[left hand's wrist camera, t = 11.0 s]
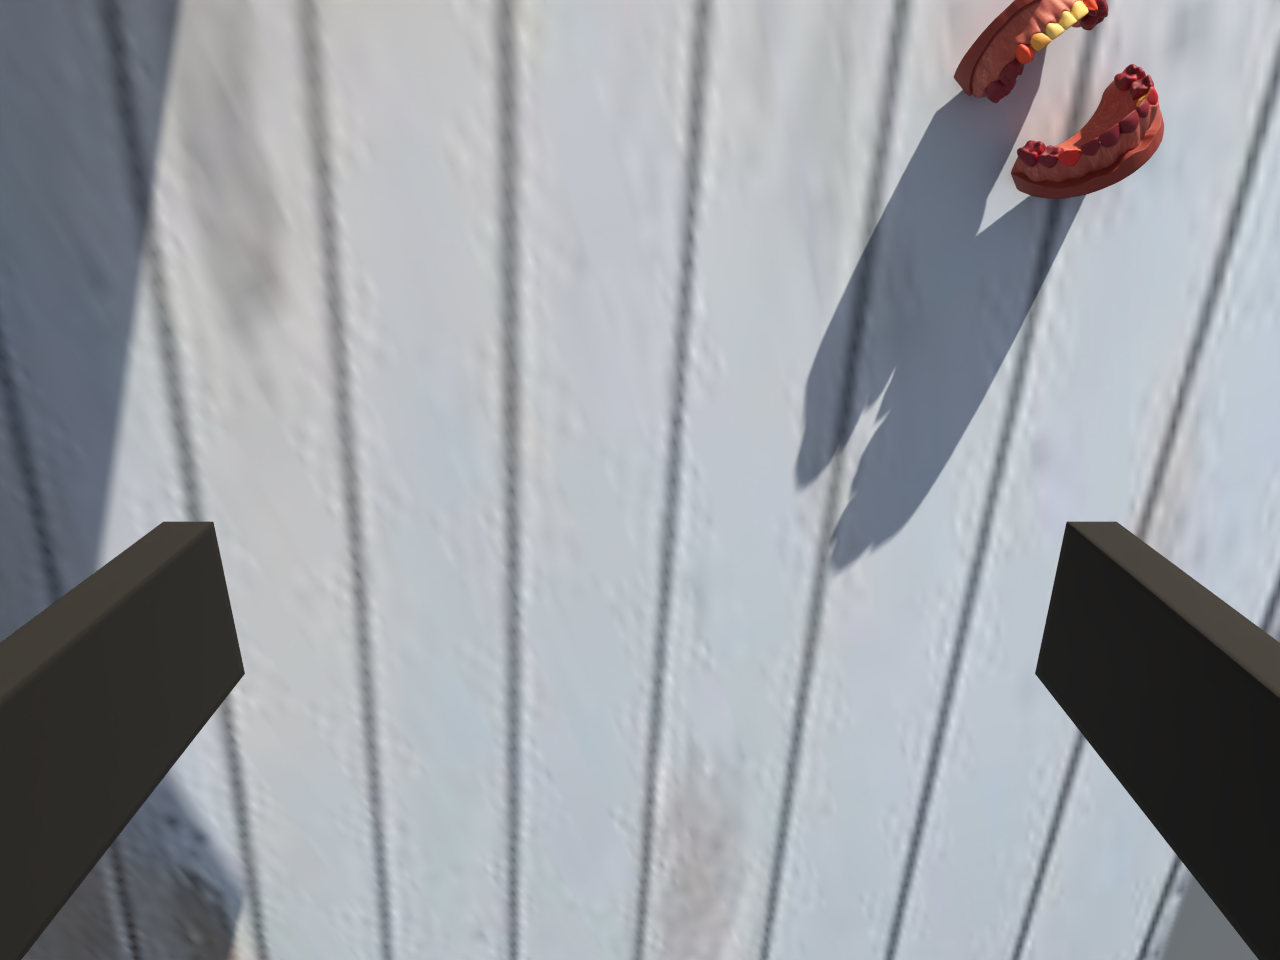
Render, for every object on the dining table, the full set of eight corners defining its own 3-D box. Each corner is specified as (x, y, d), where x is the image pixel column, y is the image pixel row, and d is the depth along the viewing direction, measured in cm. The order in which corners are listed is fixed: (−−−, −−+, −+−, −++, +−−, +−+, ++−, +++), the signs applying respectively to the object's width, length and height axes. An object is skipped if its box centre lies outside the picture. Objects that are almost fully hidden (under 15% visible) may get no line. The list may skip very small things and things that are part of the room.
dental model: (1117, -78, 27) (1213, 125, 30) (1060, -51, 31) (1149, 126, 34) (970, 38, 29) (1072, 222, 31) (933, 49, 33) (1027, 213, 35)
